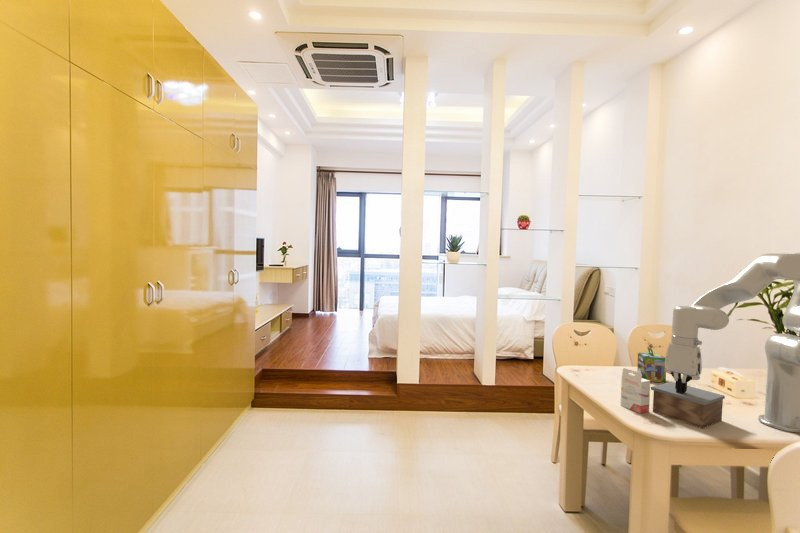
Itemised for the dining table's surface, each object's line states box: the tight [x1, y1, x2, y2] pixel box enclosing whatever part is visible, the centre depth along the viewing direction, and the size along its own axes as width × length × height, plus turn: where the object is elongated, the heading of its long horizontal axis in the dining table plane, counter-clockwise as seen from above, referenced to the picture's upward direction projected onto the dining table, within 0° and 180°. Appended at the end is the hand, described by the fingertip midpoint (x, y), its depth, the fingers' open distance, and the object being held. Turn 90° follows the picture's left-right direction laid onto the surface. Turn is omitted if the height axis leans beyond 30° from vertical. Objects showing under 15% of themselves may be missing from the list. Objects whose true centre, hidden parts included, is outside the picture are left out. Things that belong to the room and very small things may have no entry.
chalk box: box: [636, 346, 667, 384], centre depth 189 cm, size 9×9×15 cm
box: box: [652, 390, 724, 429], centre depth 146 cm, size 16×14×8 cm
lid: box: [650, 381, 726, 405], centre depth 146 cm, size 17×15×1 cm
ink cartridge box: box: [620, 367, 651, 414], centre depth 152 cm, size 9×5×15 cm, turn 22°
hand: (680, 392), depth 144 cm, fingers closed
